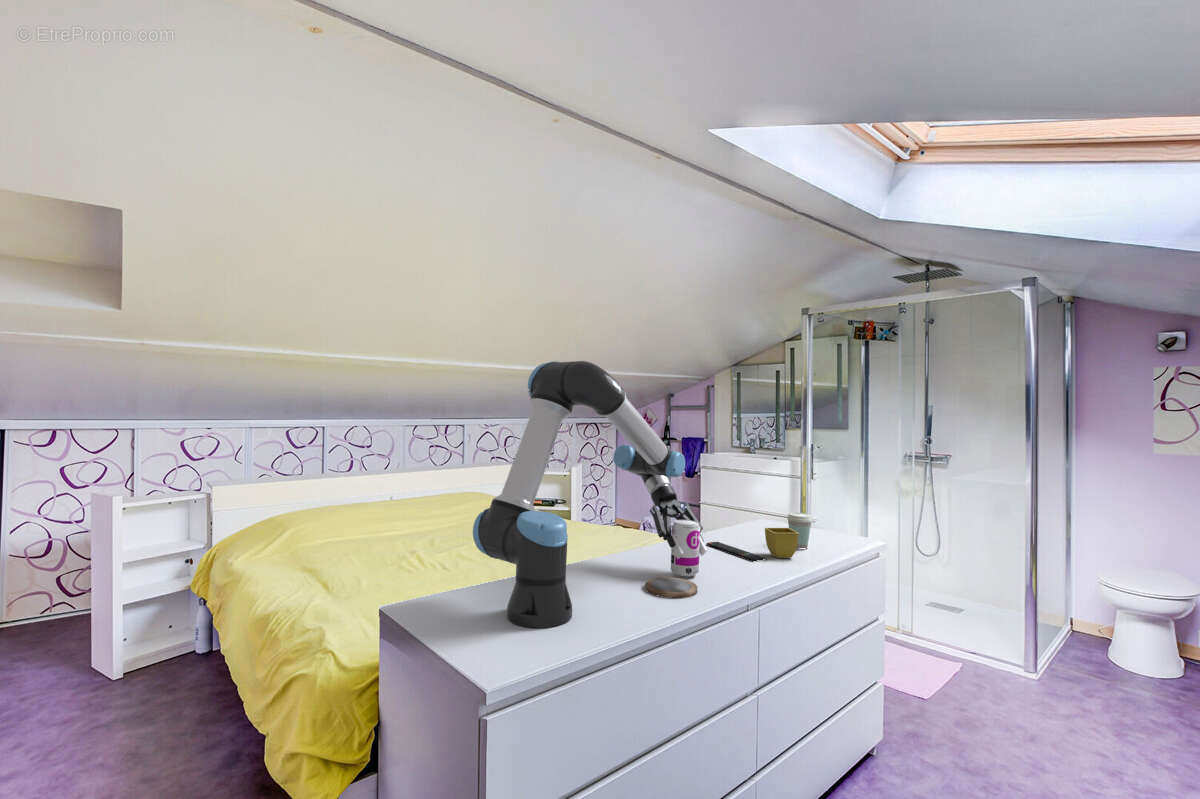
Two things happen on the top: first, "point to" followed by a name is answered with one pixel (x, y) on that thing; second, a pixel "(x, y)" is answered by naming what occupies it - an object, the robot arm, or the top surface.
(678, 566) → the supplement can
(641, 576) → the top surface
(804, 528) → the coffee cup
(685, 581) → the walnut pad
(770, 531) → the flower pot
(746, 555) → the remote control
